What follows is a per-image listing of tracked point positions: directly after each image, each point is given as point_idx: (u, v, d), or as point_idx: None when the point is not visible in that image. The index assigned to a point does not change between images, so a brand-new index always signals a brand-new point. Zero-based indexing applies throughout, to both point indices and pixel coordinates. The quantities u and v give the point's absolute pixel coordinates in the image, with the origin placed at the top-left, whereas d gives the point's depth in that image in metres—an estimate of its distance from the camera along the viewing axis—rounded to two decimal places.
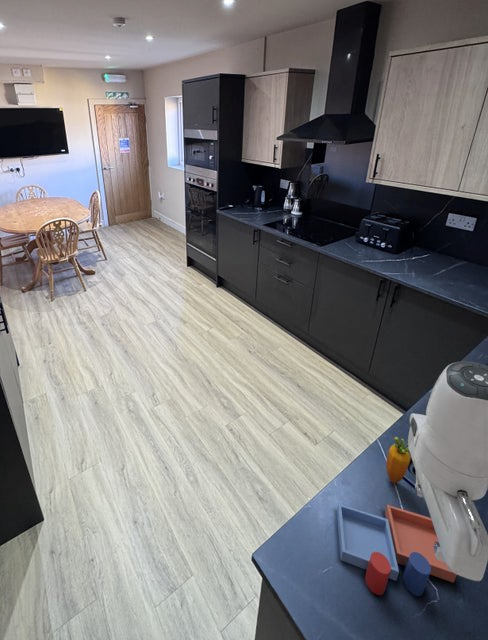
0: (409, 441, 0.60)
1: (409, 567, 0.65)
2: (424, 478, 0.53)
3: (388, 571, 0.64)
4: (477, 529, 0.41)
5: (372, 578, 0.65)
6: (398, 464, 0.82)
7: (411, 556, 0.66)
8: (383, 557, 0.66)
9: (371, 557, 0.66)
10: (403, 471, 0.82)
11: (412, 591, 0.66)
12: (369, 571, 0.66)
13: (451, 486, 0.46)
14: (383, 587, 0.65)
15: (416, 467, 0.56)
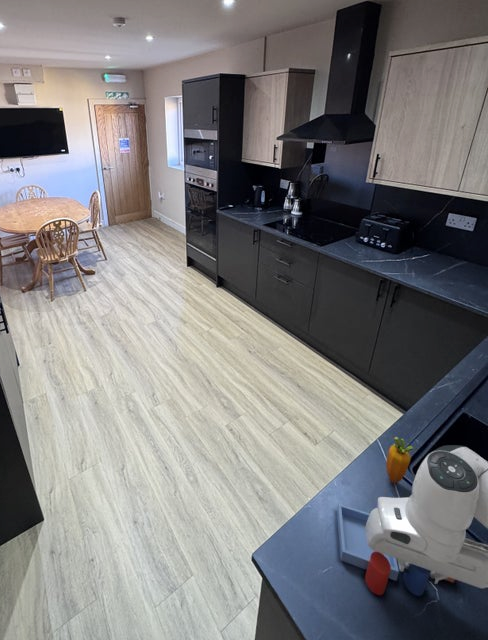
0: (374, 545, 0.65)
1: (409, 567, 0.65)
2: (418, 557, 0.62)
3: (388, 571, 0.64)
4: None
5: (372, 578, 0.65)
6: (398, 464, 0.82)
7: None
8: (383, 557, 0.66)
9: (371, 557, 0.66)
10: (403, 471, 0.82)
11: (412, 591, 0.66)
12: (369, 571, 0.66)
13: None
14: (383, 587, 0.65)
15: (398, 556, 0.64)
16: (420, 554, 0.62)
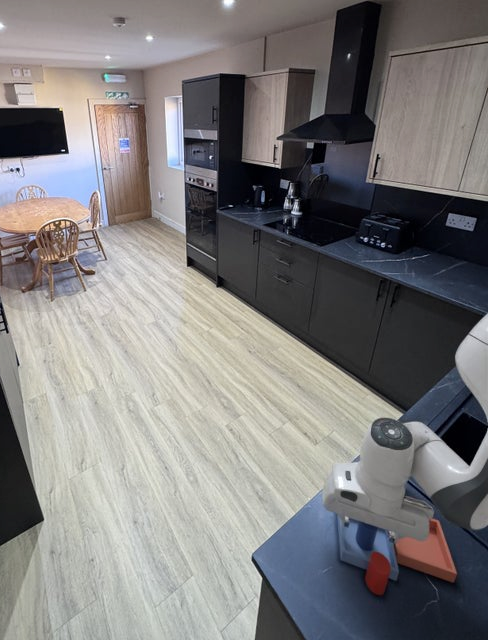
0: (328, 505, 0.71)
1: (359, 525, 0.72)
2: (366, 515, 0.69)
3: (388, 571, 0.64)
4: (427, 505, 0.65)
5: (372, 578, 0.65)
6: None
7: None
8: (383, 557, 0.66)
9: (371, 557, 0.66)
10: None
11: (362, 547, 0.72)
12: (369, 571, 0.66)
13: (402, 501, 0.66)
14: (383, 587, 0.65)
15: (349, 515, 0.70)
16: (368, 512, 0.69)
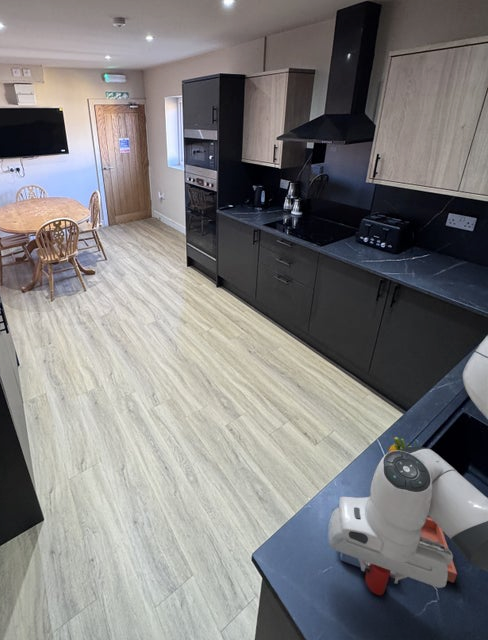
0: (335, 545, 0.65)
1: None
2: (377, 557, 0.63)
3: (388, 571, 0.64)
4: (445, 548, 0.59)
5: (372, 578, 0.65)
6: None
7: None
8: None
9: None
10: None
11: None
12: None
13: None
14: (383, 587, 0.65)
15: (358, 556, 0.64)
16: (379, 554, 0.62)
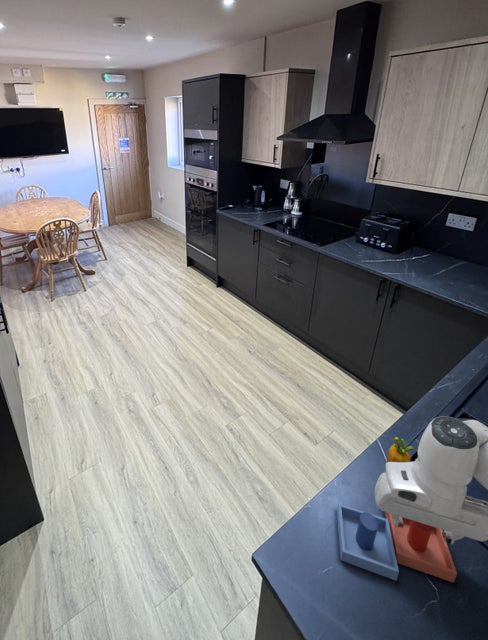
0: (383, 505, 0.71)
1: (359, 525, 0.72)
2: (423, 515, 0.68)
3: (430, 529, 0.70)
4: None
5: (414, 536, 0.71)
6: None
7: (362, 515, 0.72)
8: None
9: None
10: None
11: (362, 547, 0.72)
12: (411, 531, 0.72)
13: None
14: (425, 545, 0.71)
15: (405, 515, 0.70)
16: (425, 512, 0.68)
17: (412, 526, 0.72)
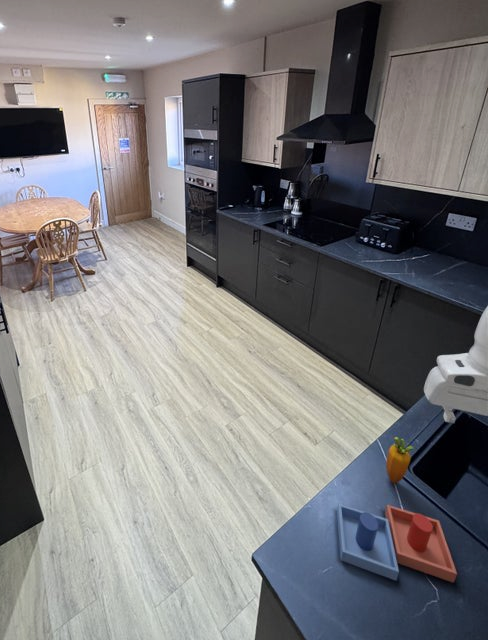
0: (435, 397, 0.68)
1: (359, 525, 0.72)
2: (479, 403, 0.66)
3: (430, 529, 0.70)
4: None
5: (414, 536, 0.71)
6: (398, 464, 0.82)
7: (362, 515, 0.72)
8: (425, 518, 0.72)
9: (413, 518, 0.72)
10: (403, 471, 0.82)
11: (362, 547, 0.72)
12: (411, 531, 0.72)
13: None
14: (425, 545, 0.71)
15: (459, 406, 0.67)
16: (481, 400, 0.65)
17: (412, 526, 0.72)
